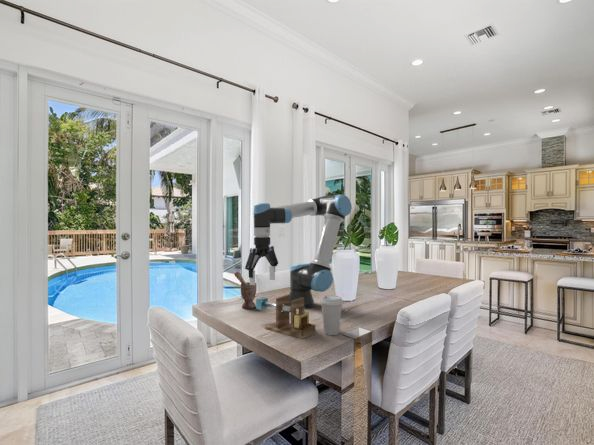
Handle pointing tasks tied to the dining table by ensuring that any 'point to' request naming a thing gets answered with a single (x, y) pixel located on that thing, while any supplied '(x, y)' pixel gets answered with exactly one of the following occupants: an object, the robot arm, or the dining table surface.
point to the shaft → (269, 305)
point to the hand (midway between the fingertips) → (262, 282)
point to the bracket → (283, 318)
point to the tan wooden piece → (298, 320)
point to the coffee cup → (331, 313)
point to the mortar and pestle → (247, 292)
